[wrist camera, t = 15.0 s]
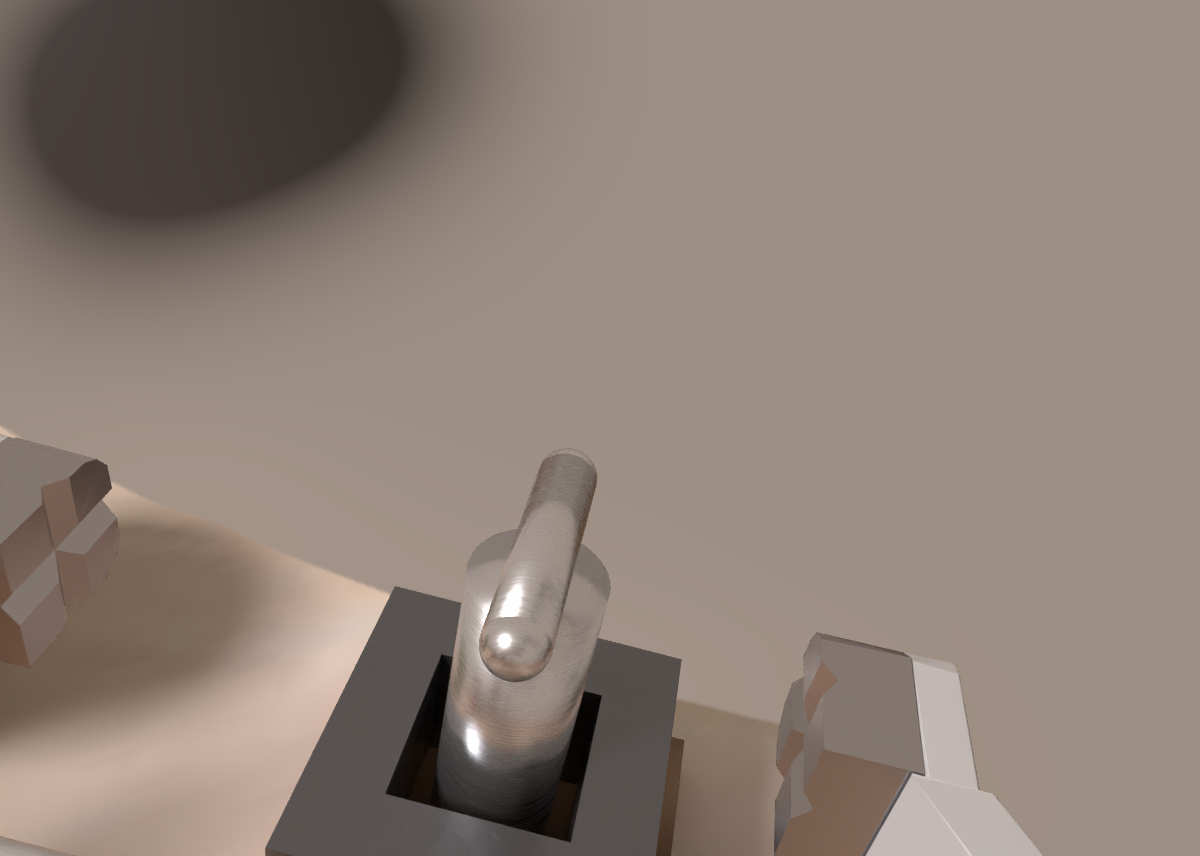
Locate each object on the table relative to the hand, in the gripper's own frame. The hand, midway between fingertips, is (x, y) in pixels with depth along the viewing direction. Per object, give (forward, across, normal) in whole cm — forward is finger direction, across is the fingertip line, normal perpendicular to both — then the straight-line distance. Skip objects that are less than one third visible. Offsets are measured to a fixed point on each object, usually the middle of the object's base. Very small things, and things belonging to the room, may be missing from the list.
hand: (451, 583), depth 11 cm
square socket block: (+12, +1, +23) cm, 26 cm away
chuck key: (+12, 0, +23) cm, 26 cm away
